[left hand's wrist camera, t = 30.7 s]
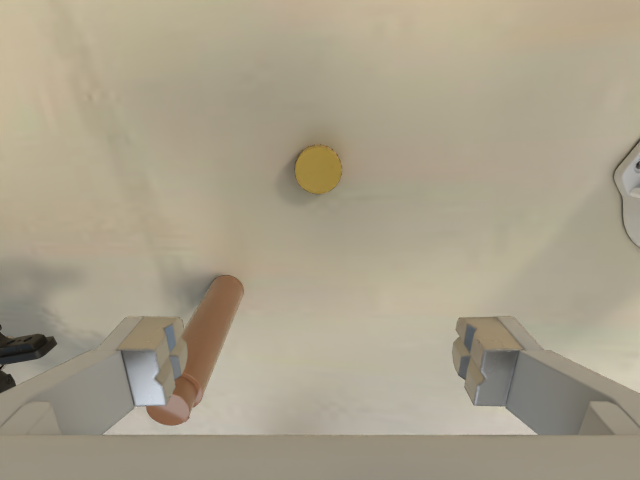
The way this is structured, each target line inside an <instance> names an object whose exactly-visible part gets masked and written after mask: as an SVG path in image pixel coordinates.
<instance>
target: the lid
mask: <svg viewBox="0 0 640 480" xmlns="http://www.w3.org/2000/svg"><path fill="white" fill-rule="evenodd" d="M340 162H341V161H340V159H339V158H338V155H337V154H336V153H335V152H334V151H333V149H332V150H331V149H330V148H328V147H327V146H323V145H321V144H320V145H314V146H310V147H309V146H308V148H306V149H305V150H303V151H302V153H301V154H300V155H299V156H298V159H297V160H296V162H295V164H296V165H295V169H294V170H295V176H296V179H297V182H298V183H299V184H300V186H301V187H302V188H303V189H305V190H306V191H308V192H310V193H314V194H322V193H326V192H329V191H330V190H332V189H333V188H334V187H335V186H336V185H337V184H338V182H339V181H340V177H341V175H342V174H341V169H342V166H341V164H340Z"/></svg>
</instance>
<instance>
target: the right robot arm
mask: <svg viewBox="0 0 640 480" xmlns="http://www.w3.org/2000/svg"><path fill="white" fill-rule="evenodd" d="M1 329H2V327H1V325H0V330H1ZM56 345H57V342H56V340H55V339H54V337H53V336H51V337H45V336H44V335H42V334H34V335H28V336H23V337H17V338H14V337H12V336H4V335H3V334H2V333H1V332H0V393H2V392H4V391H6V390H8V389H10V388H13V387H15V386H16V384H15V381H14V379H13V378H12V376H11V374H6V373H5V372H3V371H2V370H3V369H4V367H5V366H6V364H11V363H17V362H23V361H28V360H34V359H38V358H41V357H43V356H44V355H46V354H47V353H48V352H49V351H50V350H51V349H52V348H53V347H55V346H56Z"/></svg>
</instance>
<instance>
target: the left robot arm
mask: <svg viewBox="0 0 640 480" xmlns="http://www.w3.org/2000/svg"><path fill="white" fill-rule="evenodd" d="M638 162H639V164H638V166H637V167H636V164H637V163H638ZM614 179H615V183H616V185H617V188H618V190H619V191H620V193H621V195H622V198H623V220H624V225H625V229H626V231H627V233H628V235H629V237H630V238H631V240H632V241H633V242H634V243H635V244H636V245H637V246H638V247H640V142H639V143H638V144H637V145H636V146H635V148H634V149H633V150H632V151H631V152H630V154H629V155H628V156H627V157H626V158H625V160H624V161H623V162H622V163H621V164H620V165H619V167H618V168H617V169H616V171H615V174H614ZM183 331H184V325H183V320H182V319H181V318H180V317H148V316H147V317H145V316H130V317H126V318H125V319H124V320H123V321H122V322H121V323H120V324H119V325H118V326H117V327H116V328H115V329H114V331H113V332H112V333H111V334H110V335H109V336H108V337H107V338H106V339H105V340H104V341H103V343H102V344H101V345H100V346H99V347H98V348H97V349H96V350H94V351H88V352H85V353H83V354H81V355H79V356H77V357H75V358H73V359H71V360H69V361H67V362H65V363H63V364H60V365H58V366H56V367H54V368H52V369H50V370H48V371H46V372H44V373H42V374H40V375H38V376H35V377H33V378H31V379H29V380H27V381H25V382H23V383H21V384H19V385H17V386H15V387H13V388H10V389H8V390H6V391H4V392H2V393H0V480H640V393H638V392H636V391H633V390H631V389H629V388H627V387H625V386H623V385H621V384H619V383H617V382H615V381H613V380H611V379H609V378H606V377H604V376H602V375H600V374H598V373H596V372H594V371H592V370H590V369H588V368H586V367H584V366H582V365H579V364H577V363H575V362H573V361H571V360H569V359H567V358H565V357H563V356H561V355H559V354H557V353H555V352H552V351H546V350H544V349H543V348H542V347H541V346H540V345H539V344H538V343H537V341H536V340H535V339H534V338H533V337H532V336H531V335H530V334H529V333H528V332H527V331H526V329H525V328H524V327H523V326H522V325H521V324H520V323H519V322H518V321H517V320H516V319H515V318H514V317H512V316H500V317H468V318H459V319H458V321H457V325H456V331H457V333H458V335H459V337H458V338H457V340H456V341H455V342H454V343H453V351H452V354H453V363H454V366H455V369H456V371H457V373H458V375H459V376H460V377H462V378H463V379H465V386H464V387H465V389H466V391H467V393H468V395H469V397H470V399H471V401H472V403H473V405H474V406H506V409H508V410H509V411H510V412H511V413H512V414H514V415H515V416H516V417H517V418H519V419H520V420H521V421H522V422H523V423H525V424H526V425H527V426H528V427H530V428H531V429H532V430H533V431H534V432H536V433H537V434H538V435H102V434H103V433H105V432H106V431H107V430H108V429H109V428H111V427H112V426H113V425H114V424H115V423H117V422H118V421H119V420H120V419H122V418H123V417H124V416H125V415H126V414H128V413H129V412H130V411H131V410H133V409H134V406H165V405H167V403H168V401H169V399H170V397H171V395H172V393H173V391H174V389H175V387H176V386H175V379H177V378H178V377H180V376H181V375H182V373H183V371H184V369H185V367H186V362H187V352H188V349H187V343H186V342H185V341H184V340H183V338H182V337H181V335H182V333H183Z"/></svg>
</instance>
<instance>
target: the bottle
mask: <svg viewBox="0 0 640 480" xmlns="http://www.w3.org/2000/svg"><path fill="white" fill-rule="evenodd" d="M243 294H244V288H243V286H242V284H241V282H240V281H239V280H238V279H236V278H235V277H232V276H229V275H223V276H219V277H217V278H216V279H214V281H213V282H212V284H211V285H210V287H209V289H208V290H207V292H206V294H205V295H204V297H203V299H202V300H201V302H200V304H199V305H198V307H197V309H196V310H195V312H194V314H193V315H192V317H191V318H190V320H189V322H188V323H187V325H186V327H185V328H184V331H183V333H182V335H181V337H182V338H183V340H184V341H185V342H186V343H187V349H188V352H187V362H186V367H185V369H184V371H183V373H182V375H181V376H180V377H178V378H177V379H175V386H176V387H175V389H174V391H173V393H172V395H171V397H170V399H169V401H168V403H167V405H165V406H146V409H147V412H148V414H149V415H150V417H151V418H152V419H154V420H155V421H157V422H159V423H161V424H164V425H178V424H182V423H183V422H186V421H187V420H188V419H189V415H190V413H191V410H192V408H193V407H195V406H196V405H198V404H199V403H200V401H201V399H202V397H203V394H204V392H205V389H206V387H207V384H208V382H209V380H210V377H211V375H212V372H213V370H214V367H215V365H216V362H217V360H218V357H219V355H220V352H221V350H222V347H223V345H224V342H225V340H226V337H227V335H228V332H229V330H230V327H231V325H232V322H233V320H234V317H235V315H236V312H237V310H238V307H239V305H240V302H241V300H242V297H243Z"/></svg>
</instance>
